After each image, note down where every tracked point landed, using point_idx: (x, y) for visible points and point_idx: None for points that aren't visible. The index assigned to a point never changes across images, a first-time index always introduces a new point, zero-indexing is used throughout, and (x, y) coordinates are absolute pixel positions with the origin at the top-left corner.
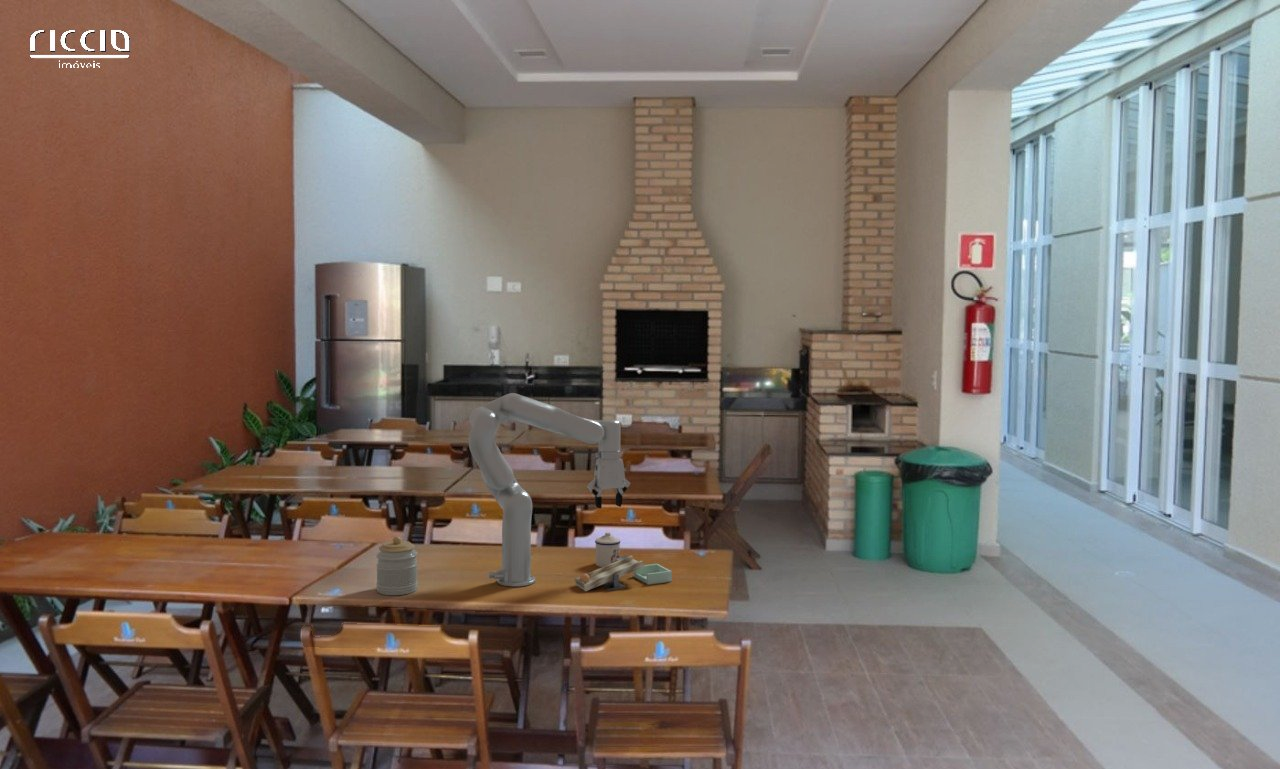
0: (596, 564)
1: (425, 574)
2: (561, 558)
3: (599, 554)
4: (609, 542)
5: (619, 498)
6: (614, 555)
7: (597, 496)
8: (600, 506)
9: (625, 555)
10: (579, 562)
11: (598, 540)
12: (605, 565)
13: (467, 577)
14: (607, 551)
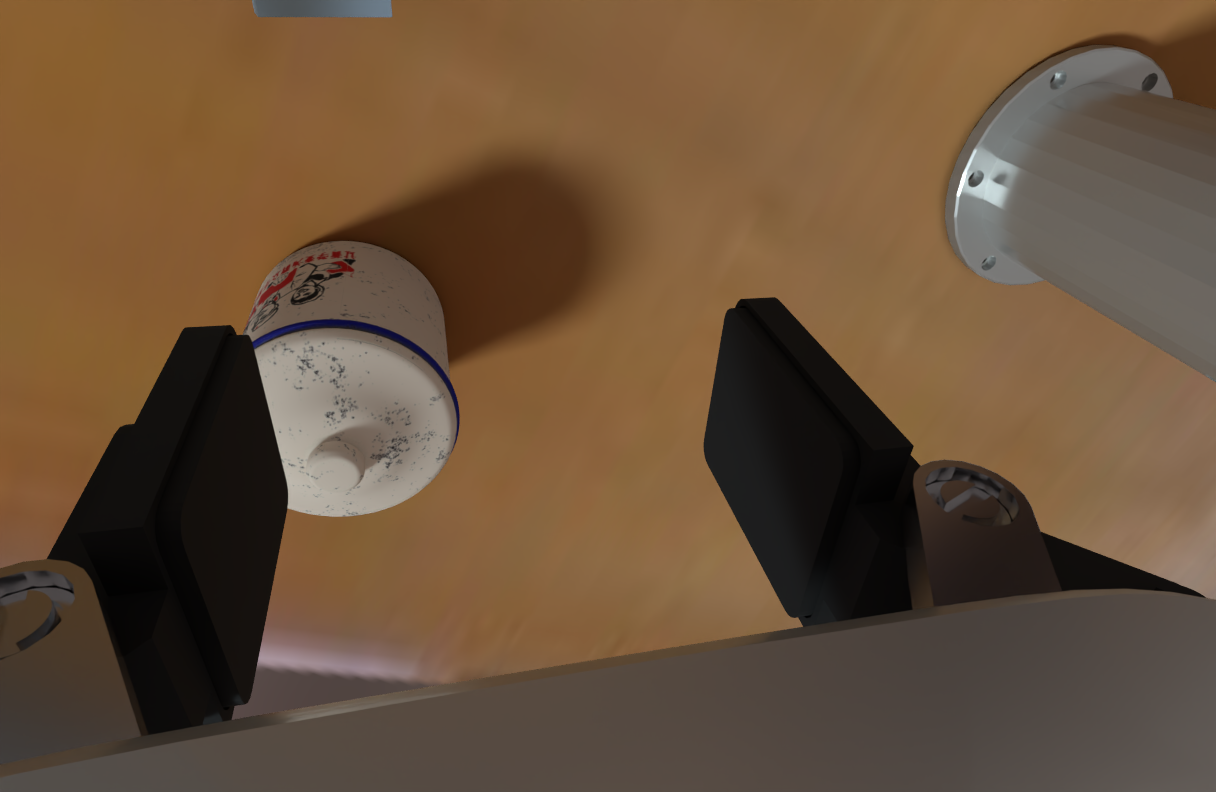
0: (444, 323)
1: (1207, 440)
2: (579, 517)
3: (438, 331)
4: (359, 339)
5: (198, 459)
6: (314, 280)
7: (982, 472)
8: (774, 312)
9: (269, 15)
10: (518, 423)
11: (441, 418)
12: (398, 258)
13: (1141, 344)
14: (381, 302)
